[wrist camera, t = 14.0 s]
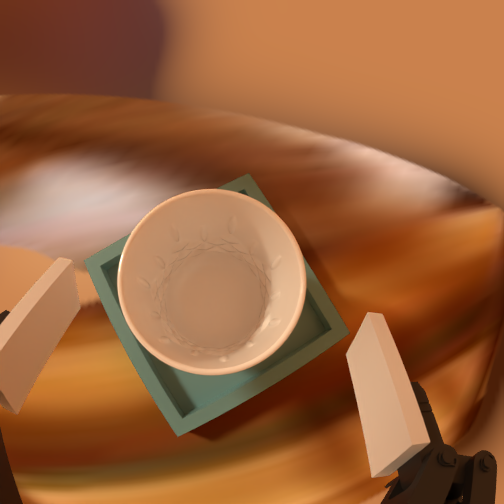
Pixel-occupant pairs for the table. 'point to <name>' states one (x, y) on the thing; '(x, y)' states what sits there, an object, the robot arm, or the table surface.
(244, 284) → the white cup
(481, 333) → the table surface
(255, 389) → the tray
